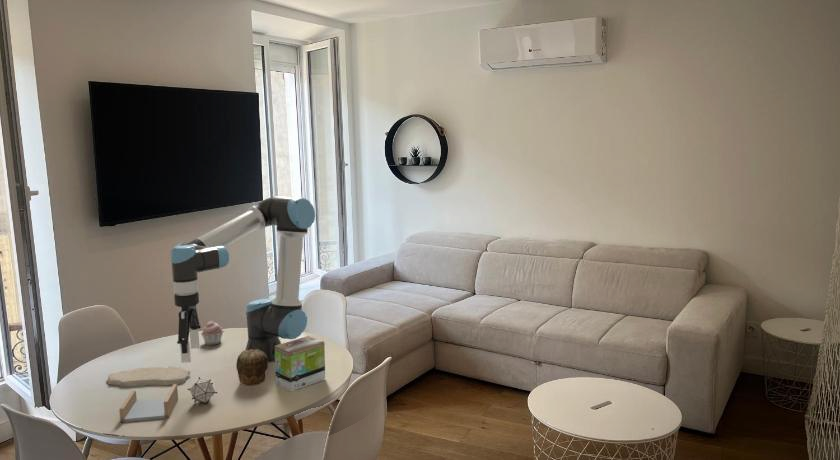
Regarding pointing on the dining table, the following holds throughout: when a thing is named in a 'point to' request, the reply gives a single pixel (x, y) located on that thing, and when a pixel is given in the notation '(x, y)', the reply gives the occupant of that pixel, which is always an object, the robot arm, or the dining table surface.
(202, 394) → the game die
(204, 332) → the cupcake
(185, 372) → the stone tablet
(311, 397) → the dining table surface
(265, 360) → the woven dome ornament
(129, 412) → the track
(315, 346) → the tea box
